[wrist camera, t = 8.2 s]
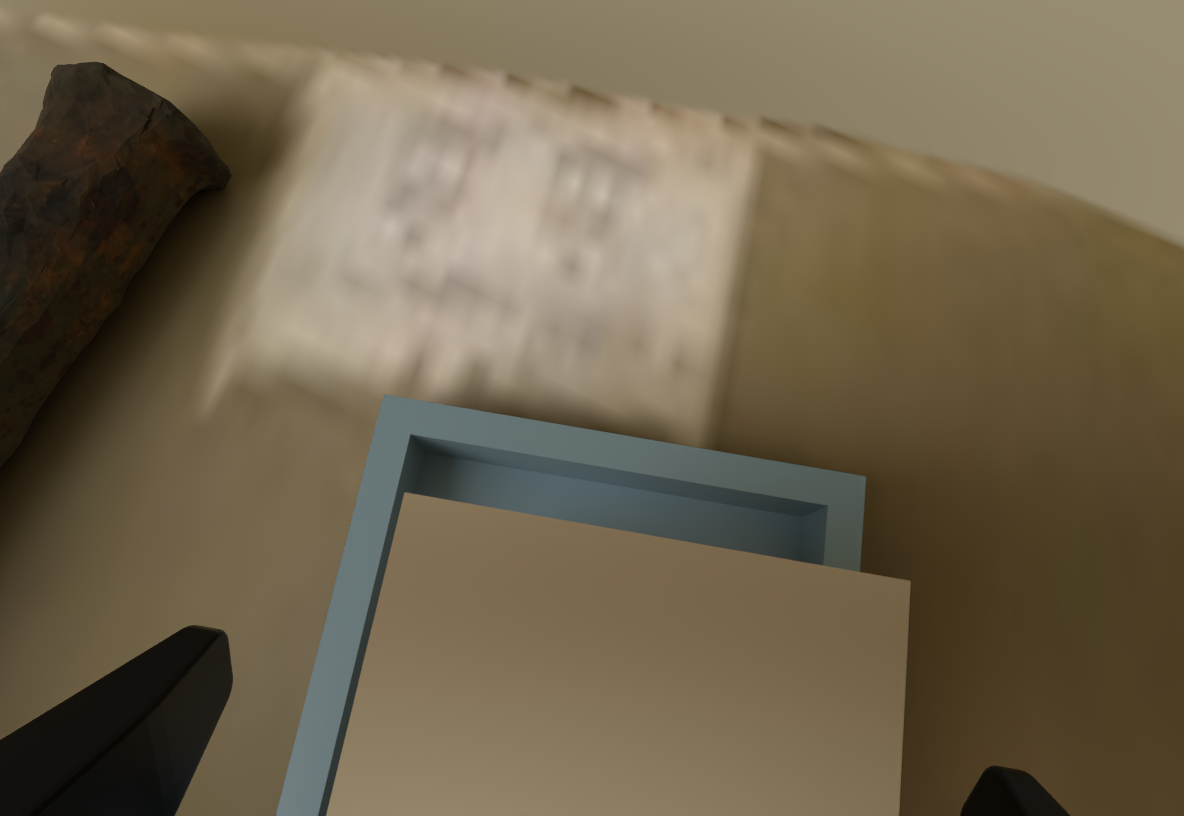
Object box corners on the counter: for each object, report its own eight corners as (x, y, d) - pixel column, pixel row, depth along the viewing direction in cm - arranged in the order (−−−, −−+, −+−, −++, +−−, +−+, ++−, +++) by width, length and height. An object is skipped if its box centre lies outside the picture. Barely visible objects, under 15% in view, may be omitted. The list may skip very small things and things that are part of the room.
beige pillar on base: (673, 825, 17) (955, 1341, 5) (449, 784, 17) (152, 1188, 5) (703, 594, 18) (976, 529, 6) (495, 557, 18) (357, 420, 6)
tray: (789, 995, 16) (827, 1058, 14) (288, 904, 16) (241, 952, 14) (829, 494, 19) (866, 476, 17) (406, 422, 20) (383, 394, 17)
